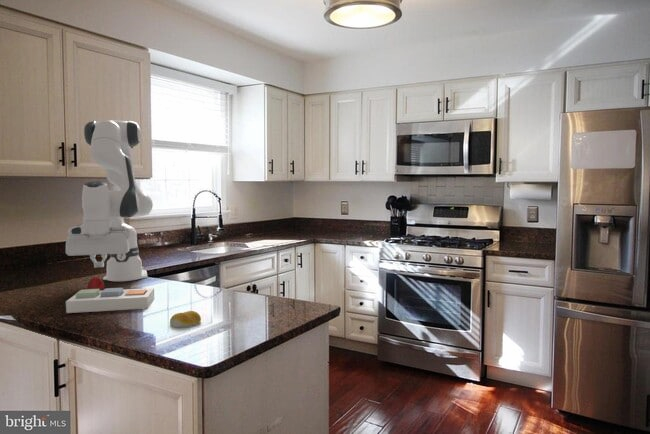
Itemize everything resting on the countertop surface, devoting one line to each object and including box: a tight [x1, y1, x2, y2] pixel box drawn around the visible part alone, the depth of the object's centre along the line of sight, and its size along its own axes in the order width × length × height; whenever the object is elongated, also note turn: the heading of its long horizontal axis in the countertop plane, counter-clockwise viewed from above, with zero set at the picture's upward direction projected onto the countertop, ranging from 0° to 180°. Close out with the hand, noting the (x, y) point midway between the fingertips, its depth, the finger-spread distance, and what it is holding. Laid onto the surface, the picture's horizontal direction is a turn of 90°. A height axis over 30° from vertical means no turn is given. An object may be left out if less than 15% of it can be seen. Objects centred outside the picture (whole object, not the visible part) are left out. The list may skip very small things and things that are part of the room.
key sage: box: [75, 288, 100, 298], centre depth 164 cm, size 6×6×3 cm
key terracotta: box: [125, 288, 147, 296], centre depth 167 cm, size 6×6×3 cm
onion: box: [86, 274, 105, 291], centre depth 180 cm, size 6×6×8 cm
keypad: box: [65, 287, 155, 314], centre depth 166 cm, size 14×26×4 cm, turn 101°
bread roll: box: [169, 310, 202, 329], centre depth 144 cm, size 8×9×4 cm
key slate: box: [101, 287, 124, 297], centre depth 166 cm, size 6×6×3 cm
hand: (99, 267), depth 164 cm, fingers closed
